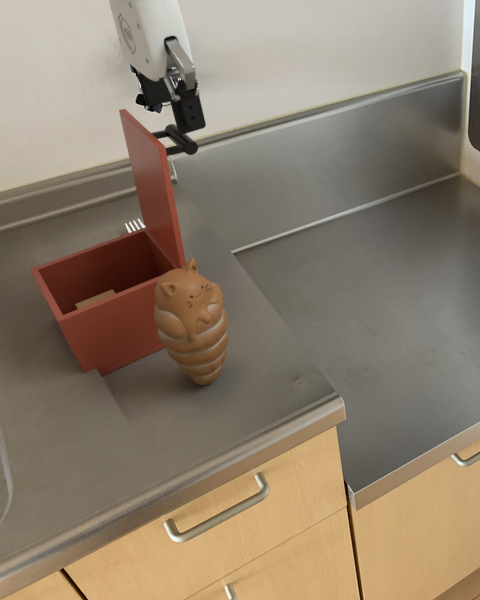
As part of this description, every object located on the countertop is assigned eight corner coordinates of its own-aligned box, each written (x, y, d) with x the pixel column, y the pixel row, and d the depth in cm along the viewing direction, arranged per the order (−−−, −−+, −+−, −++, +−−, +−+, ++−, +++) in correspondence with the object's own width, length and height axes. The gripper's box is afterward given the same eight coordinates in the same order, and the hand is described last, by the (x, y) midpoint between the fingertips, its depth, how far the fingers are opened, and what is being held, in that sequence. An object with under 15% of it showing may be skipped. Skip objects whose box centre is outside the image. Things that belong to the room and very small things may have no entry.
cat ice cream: (212, 413, 75) (176, 303, 63) (162, 392, 77) (119, 282, 65) (254, 365, 81) (229, 256, 69) (207, 347, 83) (175, 238, 71)
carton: (99, 351, 81) (86, 324, 78) (87, 331, 84) (74, 304, 81) (136, 335, 84) (125, 308, 80) (123, 315, 87) (112, 288, 83)
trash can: (88, 382, 78) (57, 321, 71) (60, 329, 86) (29, 268, 79) (202, 330, 86) (184, 269, 78) (167, 284, 93) (147, 226, 86)
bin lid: (158, 147, 68) (207, 136, 71) (118, 109, 75) (164, 101, 78) (180, 268, 78) (223, 254, 81) (143, 224, 85) (183, 213, 88)
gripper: (69, -53, 66) (119, 101, 77) (127, -20, 55) (174, 152, 67) (138, -63, 69) (176, 86, 80) (204, -33, 59) (237, 132, 70)
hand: (175, 116), depth 74 cm, fingers open, 9 cm apart
